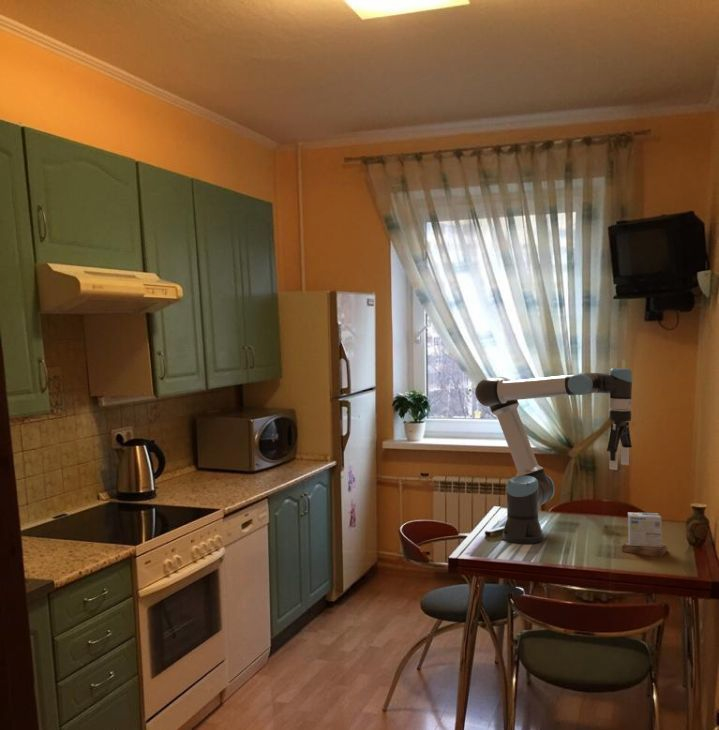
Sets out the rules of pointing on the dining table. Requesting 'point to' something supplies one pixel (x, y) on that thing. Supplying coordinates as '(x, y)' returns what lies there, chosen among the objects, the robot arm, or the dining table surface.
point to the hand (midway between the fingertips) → (619, 467)
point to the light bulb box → (644, 529)
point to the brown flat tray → (645, 549)
